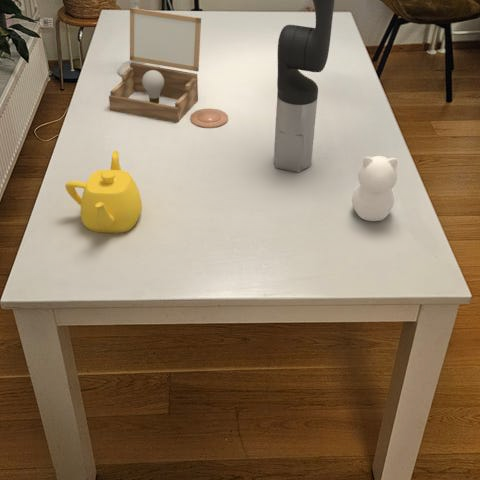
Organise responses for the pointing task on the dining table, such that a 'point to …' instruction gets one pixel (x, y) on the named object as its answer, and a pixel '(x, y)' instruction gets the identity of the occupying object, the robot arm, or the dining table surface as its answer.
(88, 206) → the teapot
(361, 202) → the cat figurine
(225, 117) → the saucer
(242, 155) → the dining table surface
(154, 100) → the light bulb
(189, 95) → the cold frame
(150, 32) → the lid
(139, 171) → the dining table surface
